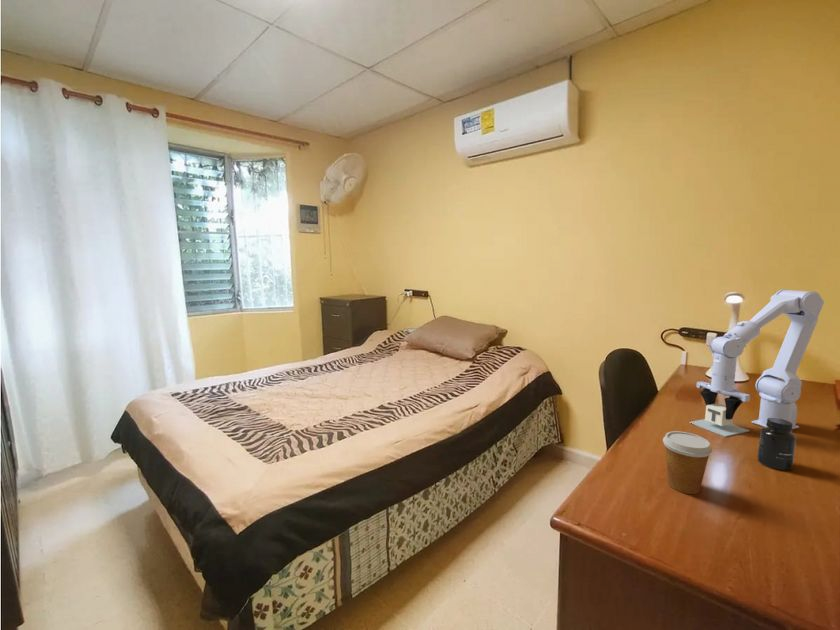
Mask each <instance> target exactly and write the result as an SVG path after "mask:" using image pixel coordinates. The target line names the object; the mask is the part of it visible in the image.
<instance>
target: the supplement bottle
mask: <svg viewBox="0 0 840 630" xmlns="http://www.w3.org/2000/svg"><path fill="white" fill-rule="evenodd" d="M766 426H767V427H764V426H763V427H762V428H761V430H760V432H759V433H760V434H759V441H758V448H757V449H758V450H757V457H756V458H757V461H758V462H759V463H760V464H762V465H764V466H765V467H768V468H770V469H774V470H778V471H791V470H792V469H793V465H794V459H795V454H796V453H795V452H796V444H797V437H796V435H795V434H794V433H793V429H792V426H793V424H792V423H791V422H789V421H786V420H783V419H779V418H768V419H767V423H766Z"/></svg>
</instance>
